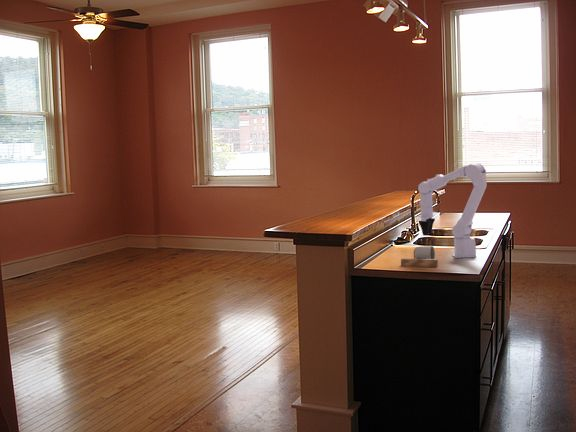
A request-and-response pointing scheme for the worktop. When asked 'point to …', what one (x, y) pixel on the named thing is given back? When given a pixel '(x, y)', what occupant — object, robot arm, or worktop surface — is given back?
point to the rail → (419, 262)
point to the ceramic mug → (424, 252)
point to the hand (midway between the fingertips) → (427, 234)
